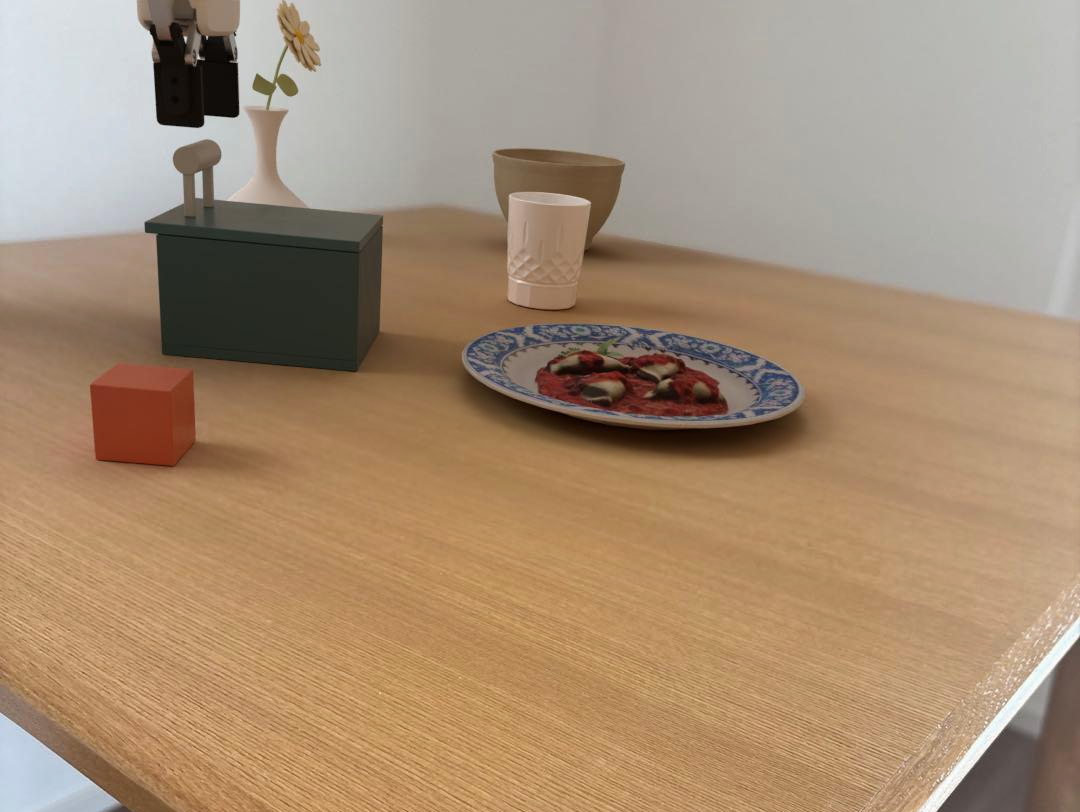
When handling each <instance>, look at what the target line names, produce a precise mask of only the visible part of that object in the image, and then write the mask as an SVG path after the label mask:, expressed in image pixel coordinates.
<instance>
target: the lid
mask: <svg viewBox="0 0 1080 812" xmlns="http://www.w3.org/2000/svg"><path fill="white" fill-rule="evenodd" d="M222 154H223V153H222V149H221V147H220V145H219V144H218V143H217V142H216V141H214V140H213V139H209V138H207V139H206V138H205V139H202V140H198V141H195V142H192V143H189V144H186V145H183V146H180V147H178V148H177V149H176V150H175V151H174V152H173V155H172V163H173V166H174V168H175V169H176V171H177V172H178V173H180V174H182V184H183V185H182V186H183V187H182V188H183V189H182V190H183V203H181V204H179V205H177V206H175V207H173V208H170V209H169V210H167V211H165V212H162V213H160V214H158V215H155V216H153V217H152V218H150V219H148V220H145V221H144V223H143V224H144V233H146V234H153V235H157V234H163V235H174V236H185V237H196V238H206V239H217V240H228V241H239V242H250V243H261V244H271V245H282V246H293V247H304V248H315V249H326V250H336V251H347V252H360V251H361V250H362V248H363V247H364V246H365V245H366V244H367V243H368V241H369V240H370V239H371V238H372V237H373V236H374V234H375V233H376V232H377V231H378V230H379V229H380V227H381V226H383V225H384V215H383V214H374V213H373V214H371V213H363V212H352V211H340V210H332V209H331V210H329V209H319V208H310V207H308V208H299V207H288V206H278V205H267V204H256V203H245V202H235V201H226V200H222V199H215V186H214V182H215V181H214V166H217V165H218V164H219V163H220V161H221V159H222V156H223V155H222ZM200 172H201V175H202V177H201V178H202V181H201V182H202V197H196V178H195V175H196V174H197V173H200Z"/></svg>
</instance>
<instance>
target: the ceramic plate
mask: <svg viewBox="0 0 1080 812" xmlns="http://www.w3.org/2000/svg"><path fill="white" fill-rule="evenodd" d="M461 360H462V364H463V366H464V369H465V370H467V372H468V373H469V374H470V375H471V376H472V377H473V378H475V379H476V380H477V381H479V382H480V383H482V384H483V385H485V386H487V387H488V388H489V389H492V390H494V391H496V392H498V393H500V394H503V395H504V396H508V397H510V398H511V399H515V400H518V401H520V402H523V403H526V404H529V405H533V406H534V407H538V408H542V409H545V410H550V411H554V412H557V413H560V414H563V415H565V416H569V417H570V418H571V417H572V418H575V419H580V420H583V421H588V422H592V423H593V422H594V423H597V424H601V425H602V424H603V425H607V426H613V427H621V428H631V429H639V430H640V429H641V430H647V431H648V430H650V431H655V430H656V431H657V430H659V431H660V430H662V431H663V430H664V431H665V430H666V431H669V430H671V431H672V430H675V431H676V430H691V429H692V430H693V429H716V428H717V429H718V428H731V427H733V428H734V427H743V426H750V425H754V424H755V425H756V424H759V423H764V422H767V421H772V420H777V419H780V418H782V417H785V416H787V415H789V414H790V413H792V412H794V411H796V410H797V409H798V408H799V407H800V406H802V404H803V403H804V401H805V398H806V394H807V393H806V388H805V386H804V384H803V383H802V381H801V380H800V379H799V378H798V377H797V376H796V375H795V374H794V373H793V372H792V371H790V370H788V368H786V367H784V366H782V365H781V364H779V363H776V362H774V361H773V360H771V359H769V358H767V357H764V356H762V355H759V354H757V353H754V352H752V351H748V350H746V349H743V348H740V347H737V346H733V345H731V344H728V343H724V342H720V341H716V340H712V339H707V338H703V337H698V336H693V335H689V334H685V333H679V332H674V331H666V330H660V329H655V328H654V329H653V328H647V327H639V326H630V325H621V324H607V323H606V324H604V323H541V324H540V323H539V324H530V325H529V324H528V325H522V326H515V327H506V328H503V329H498V330H495V331H492V332H489V333H486V334H484V335H480V336H478V337H476V338H474V339H473V340H471V341H470V342H468V343H467V344H466V345H465V347H464V348H463V350H462V352H461Z"/></svg>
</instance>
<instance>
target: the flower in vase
mask: <svg viewBox="0 0 1080 812" xmlns="http://www.w3.org/2000/svg"><path fill="white" fill-rule="evenodd" d="M276 13H277V14H276V20H277V22H278V27H279V30H280V32H281V33H282V34H283V36H282V40H283V42H284V43H285V45H284V48H283V50H282V52H281V55H280V57H279V60H278V62H277V65H276V68H275V72H274V76H273V79H272V82H271V81H269V80H268V79H266V78H264V77H263V76H262V75H261V74H259V73H256V74H255V76H254V79H253V81H252V84H251V85H252V90H253V91H255V92H257V93H259V94H262V95H264V96H267V101H266V104H265V105H242V109H243V110H244V112H245V113H246V114H247V117H248V118H249V121H250V123H251V126H252V130H253V136H254V140H255V141H254V143H255V155H256V156H255V157H256V158H255V169H254V173H253V175H252V177H251V178H250V179H249V180H248V182H247V183H246V184H244V186H242V187H241V188H239V189H238V190H237V191H236V192H235V193H233V194H232V195H231V196H230V197H229V198H227V199H226V200H225V201H235V202H245V203H256V204H267V205H278V206H288V207H299V208H309V206H308V205H307V204H306V203H305V202H304V201H303V200H301V198H299V196H297V195H296V194H295V193H294V192H293V190H291V189H289V188H288V186H287V185H286V184H285V183H284V182H283V180H281V178H280V175H279V172H278V167H277V147H278V139H279V133H280V128H281V125H282V122H283V121H284V118H285V117H286V116H287V114H288V113H289V109H287V108H283V107H277V106H271V102H272V98H273V94H274V92H276V90H277V86H278V87H279V89H280V90H281V91H282V92H283V94H284V95H286V96H287V97H290V98H291V97H294V96H296V95H298V93H299V88H298V85H297V84H296V82H295V81H294V80H293V78H291V77H290V76H289V75H287V74H286V73H280V69H281V65H282V63H283V60H284V58H285V56H286V53H287V51H288V49H289V52H290V53H291V54H292V55H293V57H294V59H295V61H296V62H297V63H298V64H301V65H302V67H303V68H304V69H307V70H308V71H309V72H314V73H316V72H317V68H316V66H318V67H322V62H321V57H320V56H319V54H317V52H320V50H321V48H320V46H319V44H318V43H317V42H316V41H315V38H314V36H313V35H312V34H311V33H310V29H311V27H310V24H309V22H308V21H307V20H303V21H301V17H300V14H299V11H298V9H297V8H296V6H295V4H294V2H290V3H289V6H288V4H287V2H286V0H281V2H279V3H278V7H276ZM279 73H280V74H279Z"/></svg>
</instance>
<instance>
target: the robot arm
mask: <svg viewBox="0 0 1080 812" xmlns="http://www.w3.org/2000/svg"><path fill="white" fill-rule="evenodd" d="M136 13H137V20H138V22H139V24H140V25H141V26H142V28H143V29H144V30H146V31H147V32H149V34H150V35H151V37H152V45H151V59H152V60H151V61H152V62H153V63H152V67H153V83H154V99H155V114H156V115H155V117H156V122H157V123H158V124H159V125H160V126H167V127H180V128H189V129H190V128H191V129H201V128H202V127H204V126H205V116H206V117H217V118H229V119H230V118H231V119H235V118H238V117H239V116H240V83H239V79H240V78H239V62H238V59H239V57H238V56H239V51H238V46H237V42H236V37H237V33H236V32H237V30H238V29H239V28H240V27H239V26H240V22H241V21H240V20H241V0H136ZM185 38H186V40H185ZM198 57H199V58H198Z"/></svg>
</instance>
